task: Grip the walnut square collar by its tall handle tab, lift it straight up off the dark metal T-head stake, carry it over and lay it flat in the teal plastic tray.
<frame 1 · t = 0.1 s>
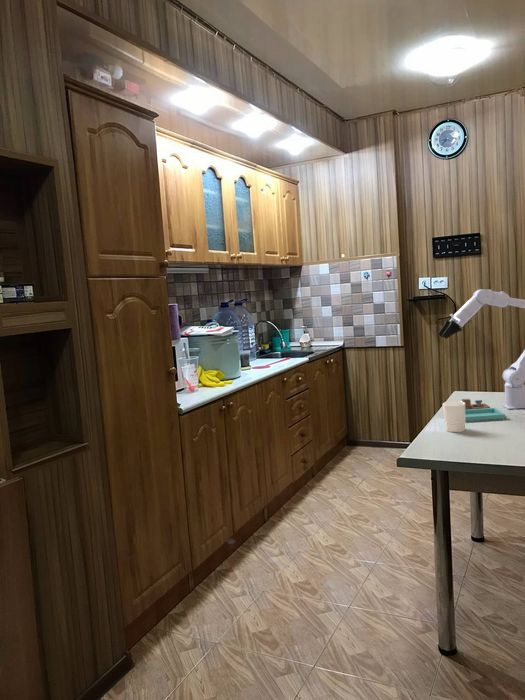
hand: (441, 336, 229), 32 cm above the table, tool tilted 50°, fingers open, 7 cm apart
tray: (479, 417, 217), on the table
collar: (479, 410, 228), on the table
white cup: (455, 430, 203), on the table
stake: (479, 410, 228), on the table
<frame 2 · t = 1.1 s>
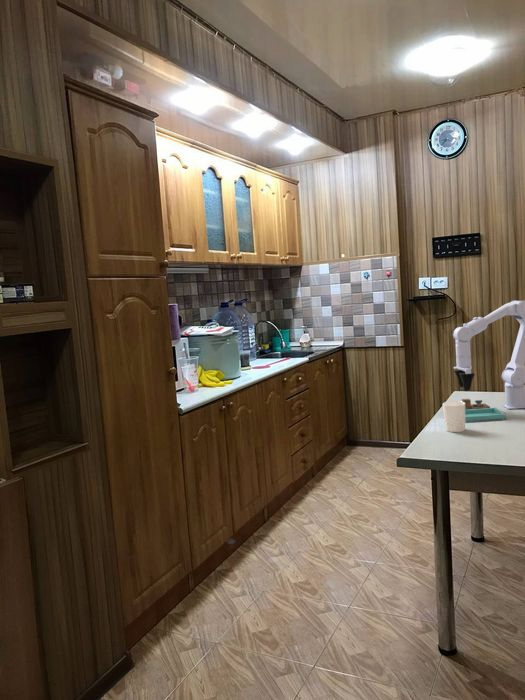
hand: (464, 388, 228), 10 cm above the table, tool pointing down, fingers open, 7 cm apart
nothing on the table moved.
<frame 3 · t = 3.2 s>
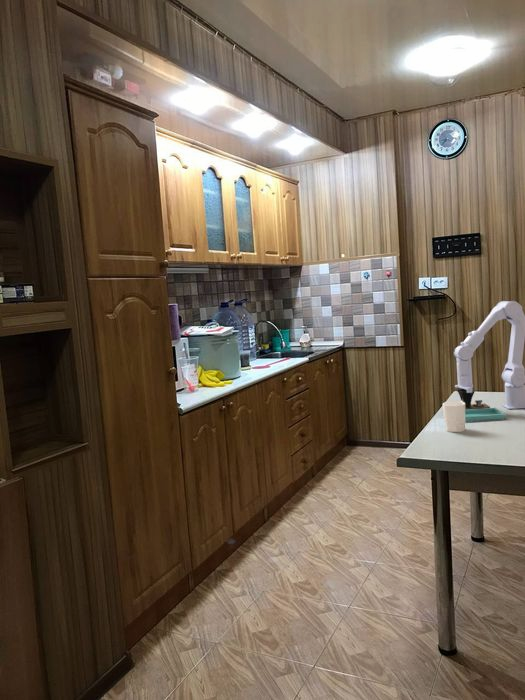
hand: (466, 406, 229), 2 cm above the table, tool pointing down, fingers closed on collar, 2 cm apart
collar: (479, 410, 228), on the table, touching gripper
everything else where it was.
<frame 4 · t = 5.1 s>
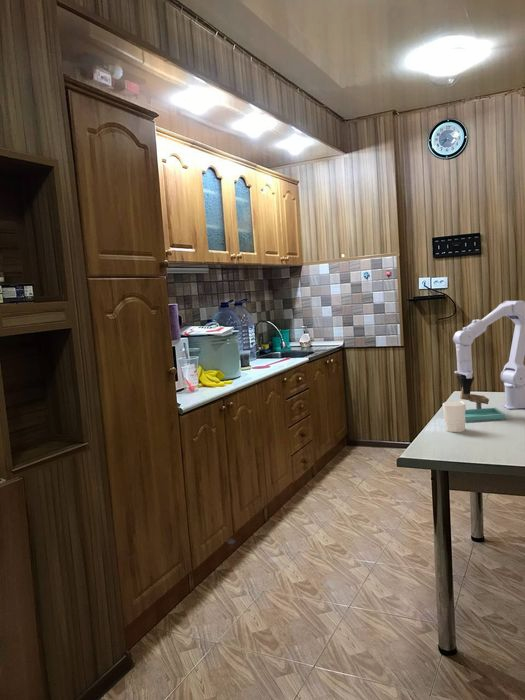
hand: (466, 393, 224), 8 cm above the table, tool pointing down, fingers closed on collar, 2 cm apart
collar: (476, 401, 224), point 5 cm above the table, tilted 13°, touching gripper
everything else where it was.
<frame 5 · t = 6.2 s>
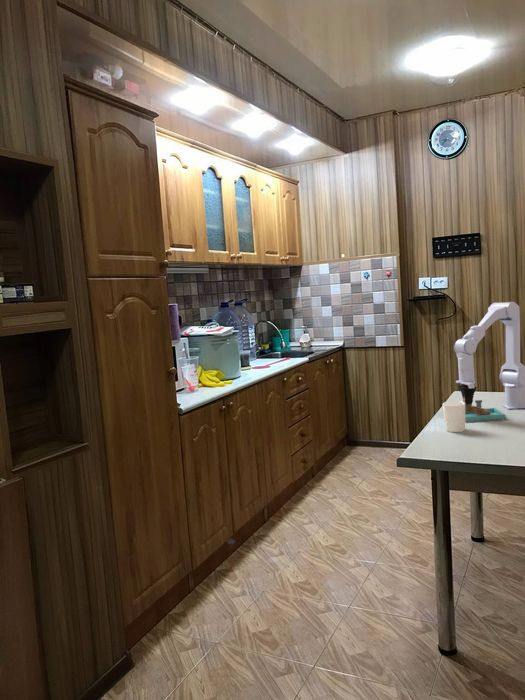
hand: (468, 403, 217), 6 cm above the table, tool pointing down, fingers closed on collar, 2 cm apart
collar: (477, 413, 217), point 2 cm above the table, tilted 18°, touching gripper, tray
everything else where it was.
when the fingers open (3 cm above the table, at t = 7.3 s): collar stays where it is, resting on tray.
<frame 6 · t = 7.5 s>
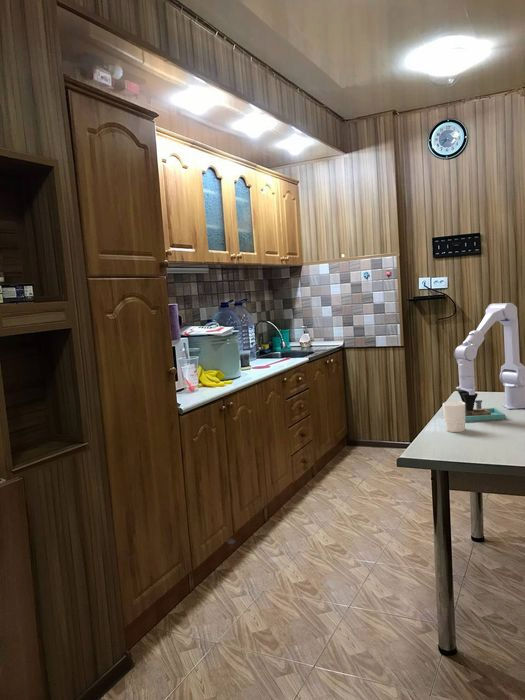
hand: (468, 409, 218), 3 cm above the table, tool pointing down, fingers open, 4 cm apart
collar: (479, 416, 217), resting on tray
everything else where it was.
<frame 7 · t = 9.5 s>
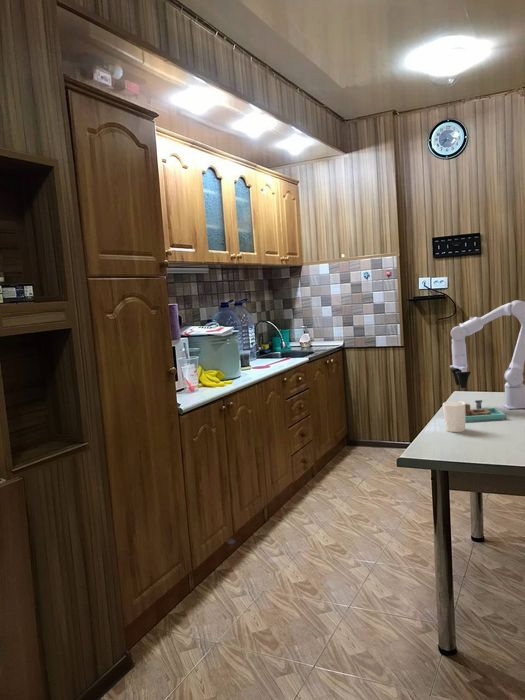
hand: (461, 386, 234), 9 cm above the table, tool pointing down, fingers open, 7 cm apart
nothing on the table moved.
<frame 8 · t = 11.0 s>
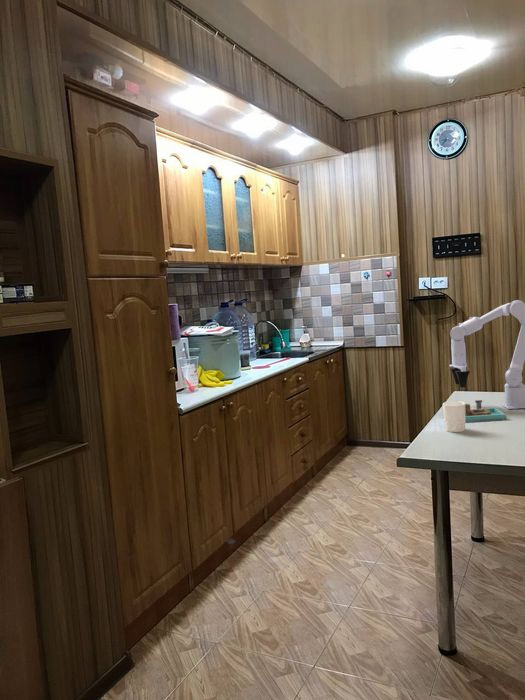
hand: (460, 385, 236), 9 cm above the table, tool pointing down, fingers open, 7 cm apart
nothing on the table moved.
at the end: collar inside the target area on the tray (0.0 cm from its centre), point 0.5 cm above the tray's base; collar tilted 0°; the gripper is holding nothing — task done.
